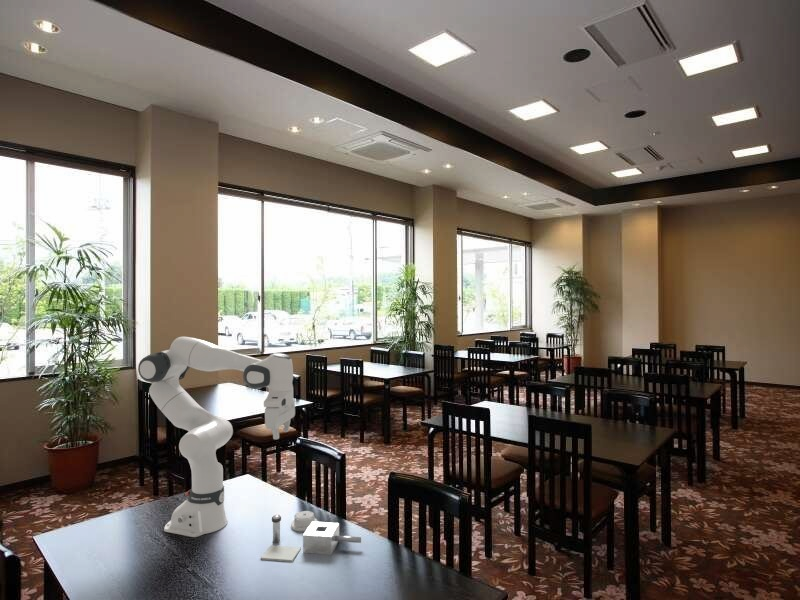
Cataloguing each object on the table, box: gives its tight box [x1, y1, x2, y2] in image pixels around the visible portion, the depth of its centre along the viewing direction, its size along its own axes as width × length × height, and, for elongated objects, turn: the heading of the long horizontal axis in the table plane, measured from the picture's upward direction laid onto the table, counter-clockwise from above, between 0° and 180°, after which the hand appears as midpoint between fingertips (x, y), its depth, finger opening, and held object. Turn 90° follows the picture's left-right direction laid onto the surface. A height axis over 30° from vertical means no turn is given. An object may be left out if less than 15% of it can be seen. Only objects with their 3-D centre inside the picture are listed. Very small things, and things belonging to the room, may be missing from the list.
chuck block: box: [302, 521, 362, 555], centre depth 164 cm, size 19×10×6 cm, turn 82°
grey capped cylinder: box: [271, 514, 282, 544], centre depth 168 cm, size 3×3×9 cm
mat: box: [260, 544, 302, 563], centre depth 160 cm, size 11×8×1 cm
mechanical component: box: [290, 510, 319, 533], centre depth 180 cm, size 10×4×10 cm
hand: (281, 435), depth 173 cm, fingers open, 8 cm apart
